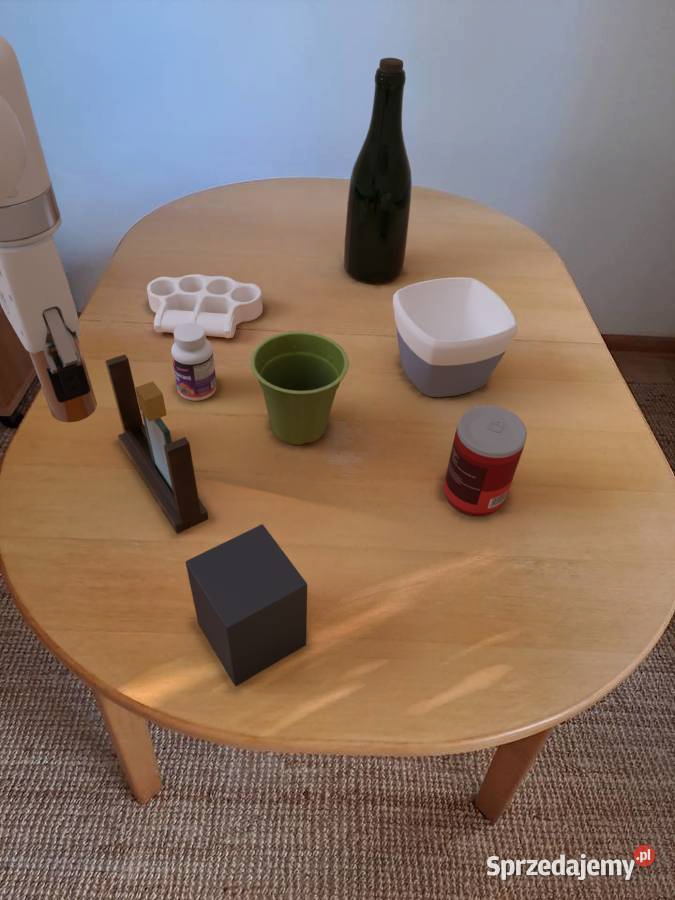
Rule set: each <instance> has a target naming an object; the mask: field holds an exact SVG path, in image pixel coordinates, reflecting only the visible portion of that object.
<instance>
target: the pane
mask: <svg viewBox="0 0 675 900" xmlns="http://www.w3.org/2000/svg"><path fill="white" fill-rule="evenodd" d="M135 390H136V395H137V399H138V404H139V408H140V412H141V416H142V421H143V424H144V425H145V429H146V433H147V438H148V442H149V446H150V451H151V455H152V460H153V464H154V465H155V467H156V468H157V470H158V471H159V473H160V474H161V476H162V478H163V479H164V481H165V482H166V484H167V485H168V487H169V488H170V490H171V491H172V493H173V489H172V484H171V479H170V475H169V470H168V465H167V460H166V455H165V450H164V445H167V444H169V443H171V442H173V441H172V440H173V439H172V436H171V431H170V429H169V427H168V426H167V425H166V424H165V422H164V421H163V419H162V418H163V417H166V416H167V410H166V404H165V399H164V394H163V392H162V391H161V389H160V388H159V387H158V386H157V384H156V383H155V382H154V381H150V382H147V383H144V384H141V385H139V386H135Z"/></svg>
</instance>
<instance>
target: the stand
mask: <svg viewBox="0 0 675 900" xmlns="http://www.w3.org/2000/svg"><path fill="white" fill-rule="evenodd" d="M185 567H186V571H187V576H188V581H189V586H190V591H191V596H192V601H193V605H194V606H193V607H194V611H195V615H196V621H197V625H198V626H199V628H200V630H201V631H202V633H203V634H204V636H205V639H206V640H207V641H208V643H209V645H210V646H211V648H212V650H213V652H214V653H215V655H216V656H217V658H218V660H219V661H220V664H221V665H222V667H223V668H224V670H225V672H226V673H227V675H228V677H229V679H230V680H231V682H232V684H233V686H234V687H238V686H240V685H241V684H243V683H245V682H247V681H248V680H250V679H251V678H253V677H255V676H256V675H258V674H260V673H261V672H263V671H265V670H267V669H268V668H270V667H272V666H274V665H275V664H277V663H278V662H280V661H282V660H284V659H286V658H287V657H289V656H290V655H291V654H294V653H296V652H297V651H299V650H300V649H302V648H304V647H306V646H307V636H308V634H307V632H308V631H307V630H308V629H307V628H308V582H307V581H306V580H305V578H304V577H303V576H302V575H301V573H300V572H299V571H298V569H297V568H296V567H295V565H294V564H293V562H292V561H291V560H290V559H289V557H288V556H287V554H286V552H284V550H283V549H282V548H281V547H280V545H279V544H278V542H277V541H276V540H275V538H274V537H273V536H272V534H271V533H270V532H269V530H268V529H267V528H266V527H265V525H264V524H263V523H262V524H259V525H257V526H255V527H252V528H251V529H249V530H247V531H245V532H243V533H241V534H238V535H236V536H234V537H232V538H230V539H228V540H226V541H224V542H222V543H220V544H218V545H216V546H213V547H212V548H210V549H208V550H206V551H203V552H202V553H200V554H198V555H195V556H193V557H191V558H189V559H187V560H185Z"/></svg>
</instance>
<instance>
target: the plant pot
mask: <svg viewBox="0 0 675 900" xmlns="http://www.w3.org/2000/svg"><path fill="white" fill-rule="evenodd" d="M253 349H254V350H253V351H252V353H251V354H250V355H251V356H250V360H249V362H250V368H251V371H252V374H253V375H254V376H255V377H256V379H257V380H258V384H259V387H260V388H261V391H262V394H263V399H264V402H265V406H266V410H267V414H268V418H269V424H270V427H271V430H272V432H273V434H274V435H275V437H276V438H277V439H278V440H280V441H282V442H284V443H286V444H290V445H295V446H301V445H304V444H307V443H314V442H316V441H317V440H319V439H320V438H322V436H323V435H324V434H325V432H326V429H327V425H328V421H329V418H330V415H331V411H332V407H333V404H334V400H335V398H336V394H337V390H338V389H339V387H340V384H341V382H342V380H343V379H344V378H345V377H346V375H347V373H348V371H349V366H350V360H349V357H348V354H347V352H346V351H345V349H344V348H343V347H342V346H341V345H340V344H339V343H338V342H336V341H335V340H333V339H332V338H330V337H328V336H325V335H323V334H320V333H316V332H313V331H312V332H311V331H301V330H297V331H295V330H294V331H285V332H281V333H277V334H274V335H271V336H269V337H267V338H265V339H264V340H262V341H261V342H260V343H258V344H257V346H256V347H254V348H253Z"/></svg>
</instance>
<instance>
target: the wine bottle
mask: <svg viewBox="0 0 675 900" xmlns="http://www.w3.org/2000/svg"><path fill="white" fill-rule="evenodd" d="M406 80H407V77H406V71H405V70H404V61H403V60H402V59H399V58H397V57H383V58H381V59H380V61H379V65H378V68H376V70H375V73H374V91H373V92H374V93H373V102H372V110H371V117H370V122H369V126H368V129H367V133H366V136H365V138H364V140H363V143H362V145H361V147H360V150H359V152H358V154H357V156H356V159H355V162H354V163H353V167H352V170H351V175H350V178H349V187H348V195H347V207H346V220H345V232H344V233H345V234H344V235H345V236H344V249H343V250H344V251H343V268H344V270H345V272H346V274H348V275H349V276H350V277H351V278H353V279H354V280H357V281H360V282H362V283H366V284H373V285H374V284H386V283H390V282H393V281H394V280H396V279H398V278H399V277H400V276H401V275H402V273H403V271H404V267H405V261H406V251H407V242H408V234H409V233H408V232H409V222H410V213H411V204H412V203H411V202H412V189H413V188H412V187H413V180H412V179H413V178H412V169H411V163H410V160H409V156H408V152H407V148H406V144H405V143H406V142H405V139H404V130H403V105H404V92H405V91H404V90H405V85H406Z"/></svg>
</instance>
